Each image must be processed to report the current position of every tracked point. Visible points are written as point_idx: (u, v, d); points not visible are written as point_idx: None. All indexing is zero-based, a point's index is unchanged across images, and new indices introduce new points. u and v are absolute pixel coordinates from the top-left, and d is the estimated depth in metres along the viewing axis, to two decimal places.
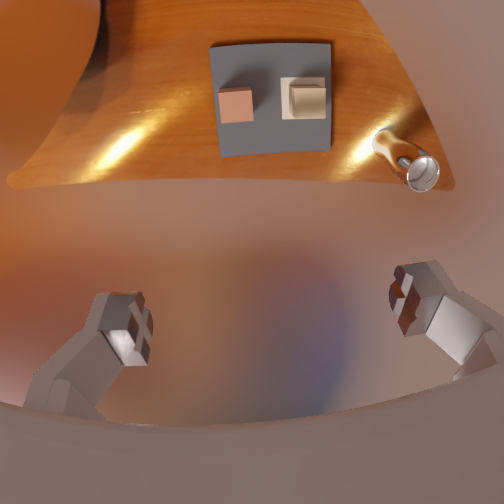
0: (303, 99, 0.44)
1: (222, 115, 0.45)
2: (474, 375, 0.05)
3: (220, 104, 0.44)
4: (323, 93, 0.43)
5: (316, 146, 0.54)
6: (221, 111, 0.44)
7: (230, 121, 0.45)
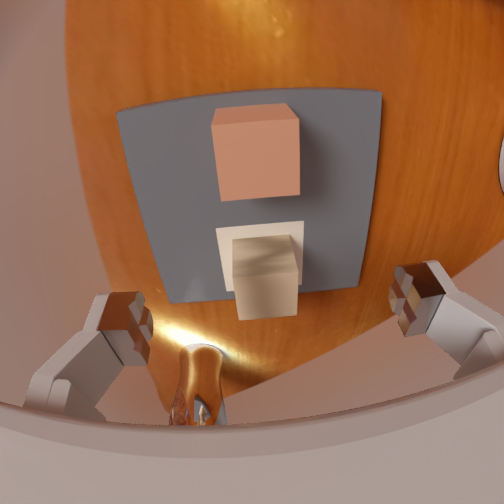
0: (273, 287, 0.24)
1: (234, 128, 0.17)
2: (474, 375, 0.05)
3: (266, 123, 0.17)
4: (286, 313, 0.26)
5: (171, 284, 0.31)
6: (246, 125, 0.17)
7: (217, 148, 0.17)
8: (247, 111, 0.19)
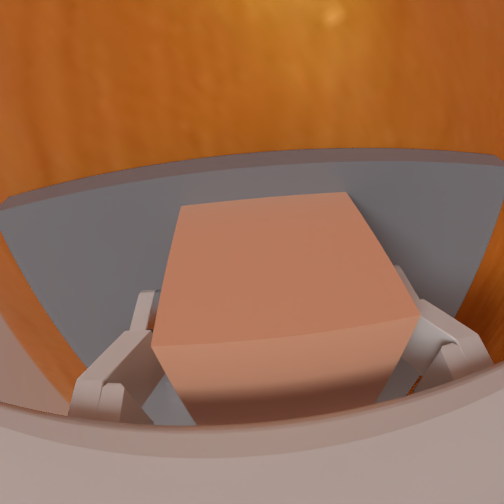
0: None
1: (226, 352, 0.05)
2: (474, 375, 0.05)
3: (328, 336, 0.05)
4: None
5: None
6: (263, 346, 0.05)
7: (181, 384, 0.06)
8: (259, 238, 0.08)
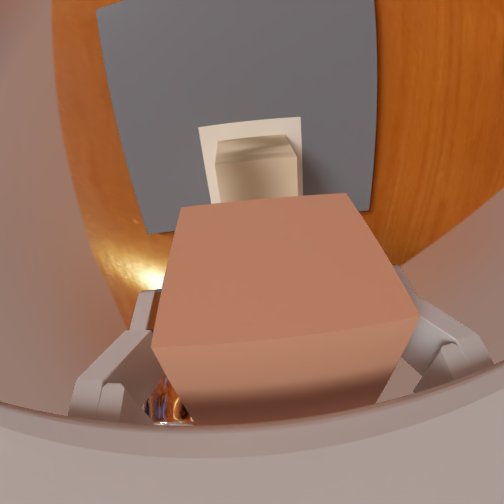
0: (267, 179, 0.19)
1: (226, 354, 0.05)
2: (474, 375, 0.05)
3: (328, 338, 0.05)
4: None
5: (148, 207, 0.25)
6: (263, 347, 0.05)
7: (181, 385, 0.06)
8: (259, 239, 0.08)
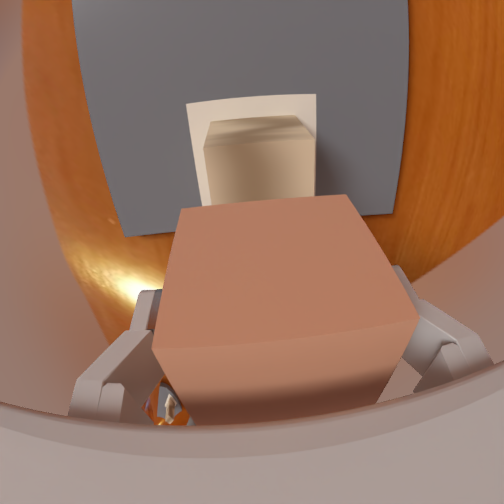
0: (274, 168, 0.14)
1: (226, 355, 0.05)
2: (474, 375, 0.05)
3: (328, 339, 0.05)
4: None
5: (125, 204, 0.20)
6: (263, 349, 0.05)
7: (181, 386, 0.06)
8: (259, 241, 0.08)
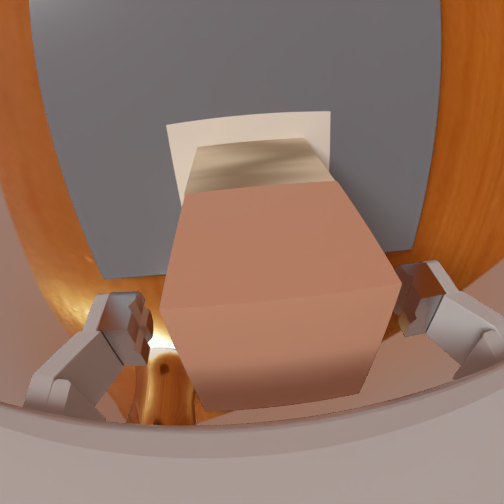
0: None
1: (226, 315, 0.06)
2: (474, 375, 0.05)
3: (317, 301, 0.06)
4: None
5: (100, 244, 0.17)
6: (260, 309, 0.06)
7: (185, 350, 0.07)
8: (257, 220, 0.08)
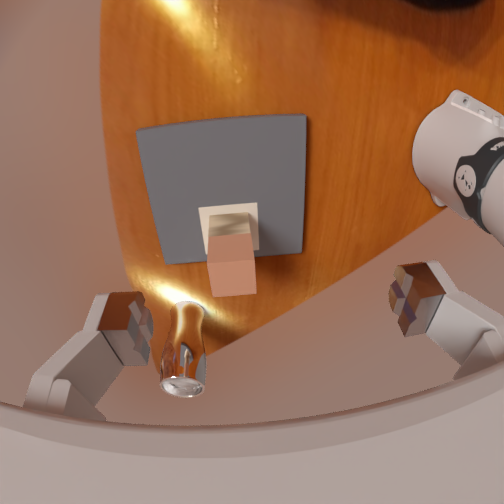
0: None
1: (219, 264, 0.33)
2: (474, 375, 0.05)
3: (236, 262, 0.33)
4: None
5: (167, 249, 0.43)
6: (226, 263, 0.33)
7: (210, 273, 0.34)
8: (227, 245, 0.35)
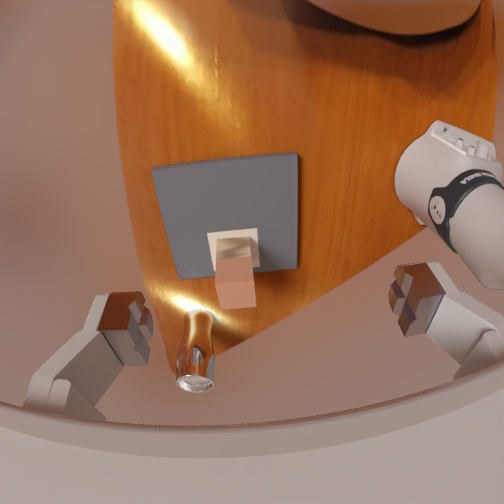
0: None
1: (225, 284, 0.40)
2: (474, 375, 0.05)
3: (239, 282, 0.40)
4: None
5: (181, 267, 0.51)
6: (230, 283, 0.40)
7: (218, 291, 0.41)
8: (231, 267, 0.43)
